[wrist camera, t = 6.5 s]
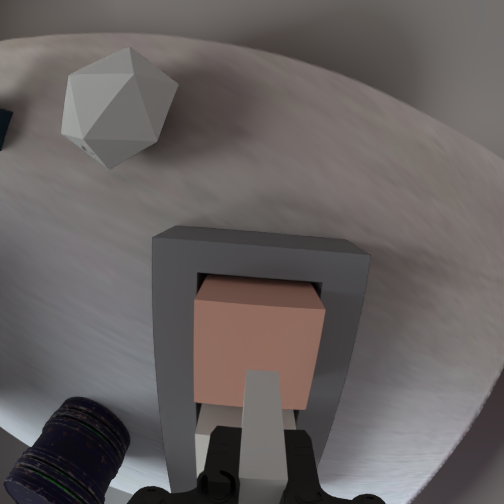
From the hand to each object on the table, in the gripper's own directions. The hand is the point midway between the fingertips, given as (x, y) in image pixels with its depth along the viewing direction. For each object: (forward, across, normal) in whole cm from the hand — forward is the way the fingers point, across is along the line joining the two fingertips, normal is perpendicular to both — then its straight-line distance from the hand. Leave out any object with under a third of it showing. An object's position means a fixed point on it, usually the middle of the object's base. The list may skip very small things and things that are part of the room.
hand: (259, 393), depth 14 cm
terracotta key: (+8, 0, 0) cm, 8 cm away
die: (+13, -12, +15) cm, 23 cm away
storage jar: (+13, -18, -19) cm, 29 cm away
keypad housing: (+13, 0, -10) cm, 16 cm away
